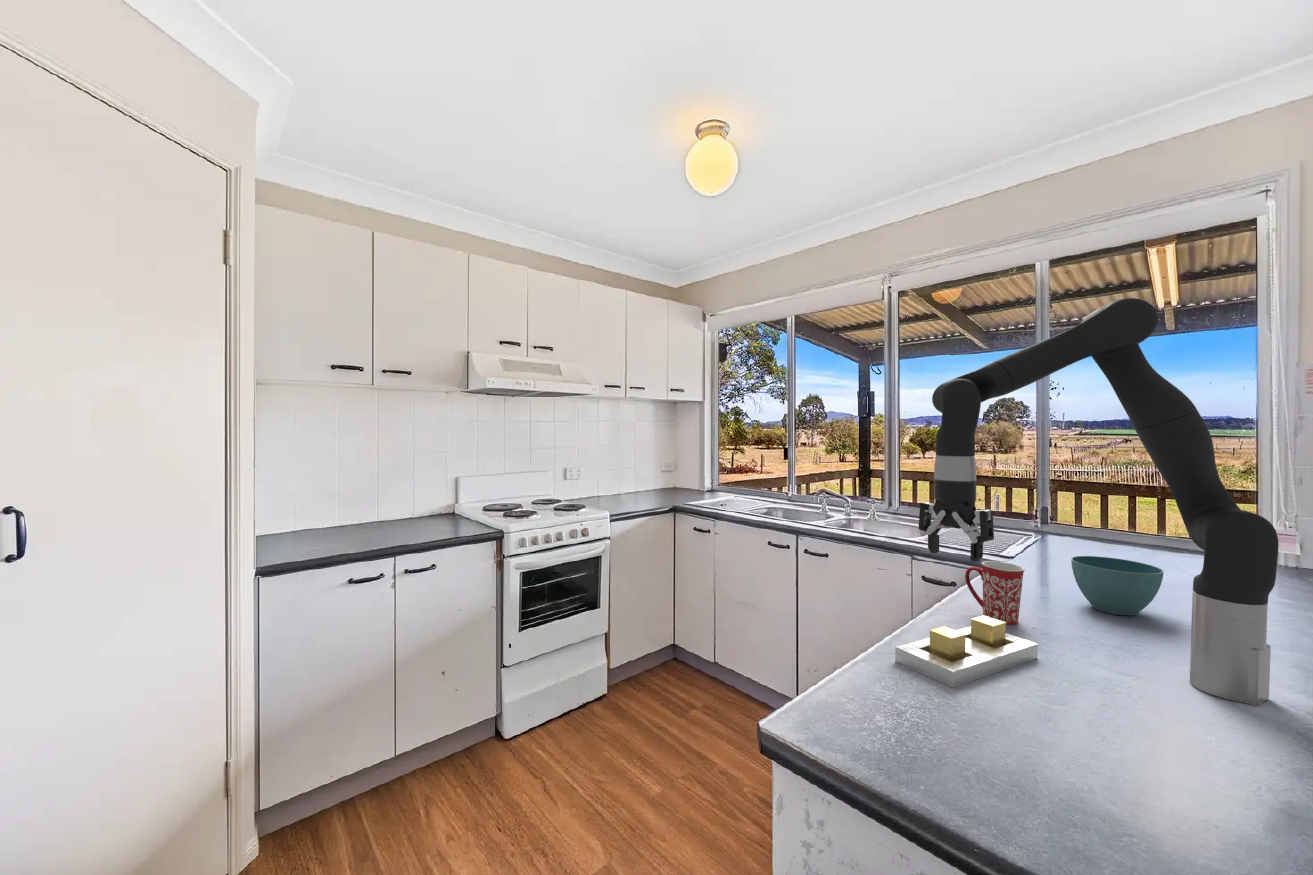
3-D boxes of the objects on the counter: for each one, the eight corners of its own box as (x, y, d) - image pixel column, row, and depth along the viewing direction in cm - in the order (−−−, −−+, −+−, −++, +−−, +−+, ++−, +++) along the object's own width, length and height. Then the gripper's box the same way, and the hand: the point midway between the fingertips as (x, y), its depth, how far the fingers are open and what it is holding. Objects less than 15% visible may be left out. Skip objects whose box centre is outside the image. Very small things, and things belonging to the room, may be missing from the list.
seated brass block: (1004, 655, 110) (1005, 622, 110) (992, 660, 108) (993, 625, 107) (982, 647, 114) (983, 615, 113) (970, 651, 112) (971, 618, 111)
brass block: (965, 669, 103) (965, 634, 103) (950, 674, 101) (951, 638, 101) (943, 660, 107) (944, 626, 107) (928, 664, 105) (929, 629, 105)
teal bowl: (1070, 594, 151) (1072, 552, 151) (1158, 609, 140) (1159, 563, 140) (1069, 611, 137) (1070, 564, 137) (1165, 629, 126) (1167, 577, 126)
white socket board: (978, 637, 119) (979, 624, 119) (1037, 658, 109) (1037, 643, 108) (895, 661, 106) (895, 646, 106) (952, 688, 95) (953, 671, 95)
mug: (1028, 620, 130) (1029, 566, 130) (1016, 629, 124) (1017, 572, 124) (972, 606, 140) (973, 556, 139) (958, 614, 134) (959, 561, 134)
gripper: (1001, 479, 103) (1001, 562, 104) (933, 474, 116) (932, 548, 116) (980, 481, 100) (979, 567, 100) (911, 475, 112) (910, 551, 112)
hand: (954, 556), depth 108 cm, fingers open, 8 cm apart
